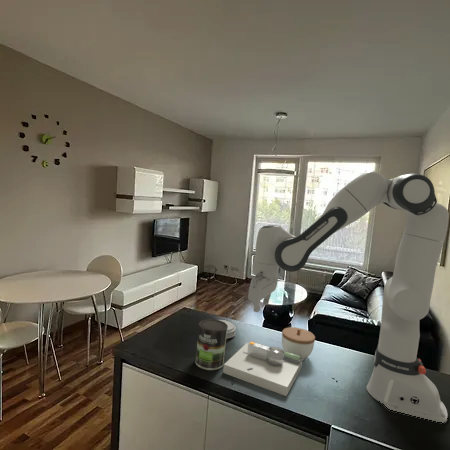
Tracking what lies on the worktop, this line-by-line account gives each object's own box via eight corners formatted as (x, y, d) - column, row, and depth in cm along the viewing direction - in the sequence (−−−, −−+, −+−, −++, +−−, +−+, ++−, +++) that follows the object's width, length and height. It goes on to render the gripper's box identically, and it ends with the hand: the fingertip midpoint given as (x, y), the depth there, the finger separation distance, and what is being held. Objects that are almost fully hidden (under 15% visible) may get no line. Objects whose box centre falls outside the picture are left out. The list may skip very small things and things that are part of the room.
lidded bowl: (282, 345, 132) (285, 320, 131) (313, 353, 128) (316, 326, 127) (277, 359, 120) (280, 331, 119) (311, 367, 116) (314, 339, 115)
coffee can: (217, 373, 106) (221, 333, 105) (190, 365, 110) (193, 326, 109) (227, 360, 116) (231, 322, 115) (202, 352, 119) (205, 316, 118)
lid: (227, 343, 129) (228, 332, 129) (200, 335, 135) (202, 324, 134) (239, 333, 141) (240, 322, 140) (214, 325, 146) (215, 315, 146)
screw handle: (285, 360, 113) (286, 349, 112) (280, 368, 107) (281, 356, 107) (251, 350, 118) (252, 339, 118) (245, 356, 113) (246, 345, 113)
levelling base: (301, 368, 115) (303, 353, 115) (286, 396, 97) (288, 379, 97) (246, 350, 125) (247, 337, 125) (223, 372, 107) (224, 357, 107)
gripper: (264, 276, 101) (259, 318, 102) (282, 267, 119) (278, 302, 121) (246, 273, 104) (241, 313, 105) (266, 264, 122) (262, 298, 123)
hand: (261, 307), depth 113 cm, fingers open, 8 cm apart
